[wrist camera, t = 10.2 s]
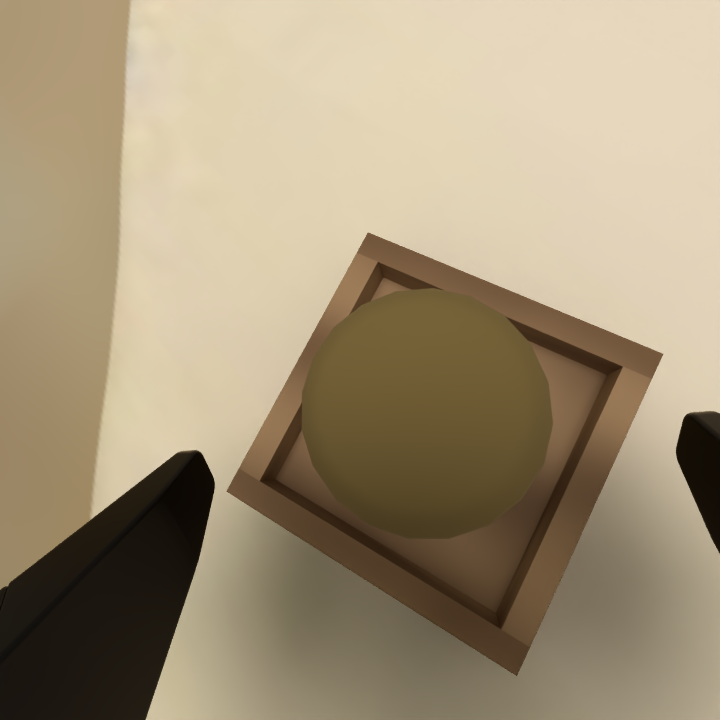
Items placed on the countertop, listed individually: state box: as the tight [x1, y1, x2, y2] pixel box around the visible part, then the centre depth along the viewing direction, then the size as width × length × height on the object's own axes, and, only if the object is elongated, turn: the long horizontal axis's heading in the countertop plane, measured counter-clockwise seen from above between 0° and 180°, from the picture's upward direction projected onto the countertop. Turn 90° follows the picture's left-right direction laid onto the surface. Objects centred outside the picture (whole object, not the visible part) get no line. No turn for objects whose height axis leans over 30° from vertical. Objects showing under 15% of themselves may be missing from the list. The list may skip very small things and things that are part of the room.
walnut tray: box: [227, 233, 663, 676], centre depth 18 cm, size 12×12×2 cm
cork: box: [302, 288, 553, 539], centre depth 14 cm, size 6×6×11 cm
